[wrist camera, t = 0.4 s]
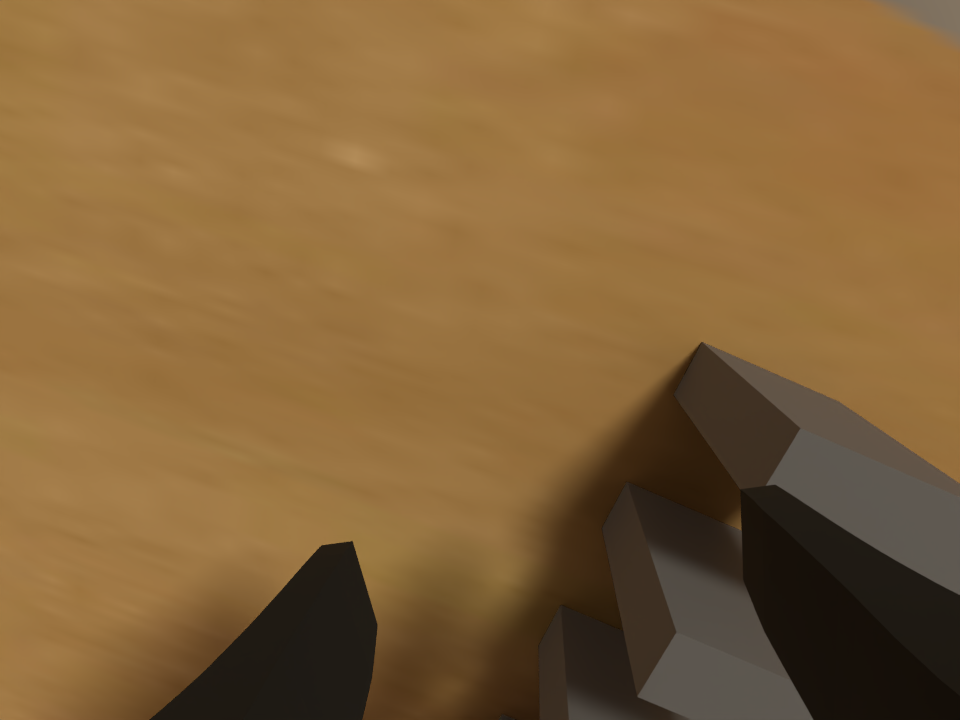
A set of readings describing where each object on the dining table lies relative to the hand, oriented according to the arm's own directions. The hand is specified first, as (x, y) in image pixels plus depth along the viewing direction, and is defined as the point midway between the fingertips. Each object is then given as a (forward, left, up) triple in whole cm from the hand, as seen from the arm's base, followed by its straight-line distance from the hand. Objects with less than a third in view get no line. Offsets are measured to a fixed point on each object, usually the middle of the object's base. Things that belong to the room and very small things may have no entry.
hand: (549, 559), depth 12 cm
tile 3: (-3, -7, -10) cm, 13 cm away
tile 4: (+3, -7, -10) cm, 13 cm away
